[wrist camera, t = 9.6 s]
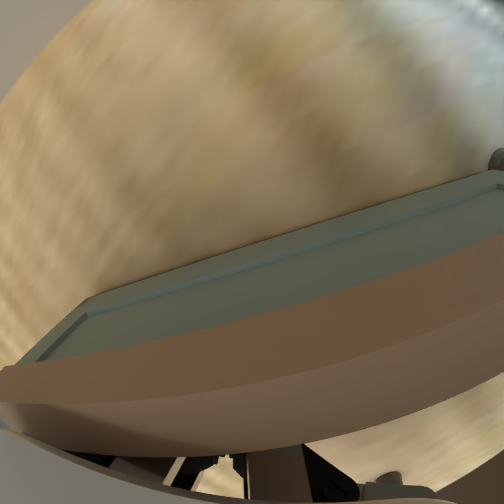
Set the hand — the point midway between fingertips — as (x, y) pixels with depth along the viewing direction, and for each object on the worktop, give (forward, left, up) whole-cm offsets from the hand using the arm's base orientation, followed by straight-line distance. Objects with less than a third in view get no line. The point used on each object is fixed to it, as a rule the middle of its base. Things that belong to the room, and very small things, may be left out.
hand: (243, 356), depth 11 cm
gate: (-1, -4, -2) cm, 4 cm away
